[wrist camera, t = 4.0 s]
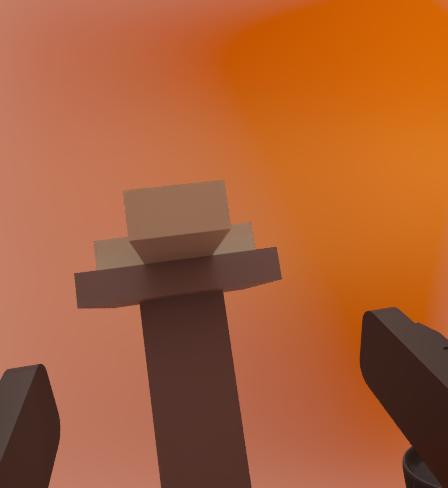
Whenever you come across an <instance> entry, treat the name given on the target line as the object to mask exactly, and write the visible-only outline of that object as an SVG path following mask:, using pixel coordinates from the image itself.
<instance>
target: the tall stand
mask: <svg viewBox="0 0 448 488" xmlns="http://www.w3.org/2000/svg"><path fill="white" fill-rule="evenodd" d="M74 276H75V286H76V296H77V307H78V308H118V307H124V306H131V305H138V304H140V311H141V319H142V328H143V336H144V344H145V353H146V362H147V370H148V379H149V388H150V396H151V405H152V413H153V422H154V430H155V439H156V446H157V456H158V465H159V473H160V482H161V488H251V481H250V475H249V468H248V461H247V454H246V447H245V440H244V433H243V427H242V420H241V413H240V406H239V400H238V392H237V385H236V378H235V371H234V364H233V357H232V351H231V343H230V337H229V330H228V323H227V316H226V309H225V302H224V295H223V292H228V291H235V290H242V289H246V288H250V287H254V286H258V285H262V284H265V283H269V282H273V281H277V280H281V279H282V277H281V272H280V265H279V259H278V253H277V248H276V247H271V248H264V249H256V250H249V251H241V252H234V253H226V254H218V255H211V256H203V257H196V258H188V259H180V260H173V261H165V262H158V263H150V264H142V265H135V266H127V267H120V268H112V269H104V270H97V271H90V272H83V273H75V274H74Z"/></svg>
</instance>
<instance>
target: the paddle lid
mask: <svg viewBox="0 0 448 488" xmlns="http://www.w3.org/2000/svg"><path fill="white" fill-rule="evenodd" d="M123 196H124V204H125V213H126V221H127V230H128V237H124V238H117V239H108V240H100V241H94V248H95V258H96V268H97V270H104V269H112V268H120V267H127V266H135V265H142V264H150V263H158V262H165V261H173V260H180V259H188V258H196V257H203V256H211V255H218V254H226V253H234V252H241V251H249V250H255V243H254V237H253V231H252V224H251V222H247V223H239V224H231V223H230V216H229V209H228V202H227V196H226V189H225V183H224V180H219V181H209V182H200V183H190V184H181V185H171V186H163V187H153V188H143V189H135V190H125V191H123Z"/></svg>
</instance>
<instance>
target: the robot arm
mask: <svg viewBox="0 0 448 488" xmlns="http://www.w3.org/2000/svg"><path fill="white" fill-rule="evenodd" d="M360 368H361V372H362V375H363V378H364V380H365V382H366V384H367V385H368V387H369V388H370V389H371V391H372V392H373V393H374V395H375V396H376V397H377V399H378V400H379V401H380V403H381V404H382V406H383V407H384V408H385V410H386V411H387V412H388V414H389V415H390V416H391V418H392V419H393V420H394V422H395V423H396V425H397V426H398V427H399V428H400V430H401V431H402V433H403V434H404V435H405V437H406V438H407V440H408V441H409V442H410V444H411V445H412V446H413V448H414V449H415V450H416V452H417V453H418V454H419V456H420V457H421V459H422V460H423V461H424V463H425V464H426V465H427V467H428V468H429V469H430V471H431V472H432V473H433V475H434V476H435V478H436V479H437V480H438V482H439V483H440V484H441V486H442V487H443V488H448V340H447V339H446V338H445V337H444V336H443V335H441V334H440V333H439V332H437V331H435V330H433V329H431V328H429V327H427V326H425V325H422V324H420V323H414V322H413V321H411V320H410V319H409V318H408V317H407V316H406V315H405V314H403V313H402V312H401V311H400V310H399V309H398V308H396V307H390V308H385V309H378V310H371V311H367V312H365V313H364V315H363V320H362V335H361V349H360ZM59 439H60V419H59V413H58V410H57V406H56V403H55V399H54V396H53V392H52V389H51V385H50V381H49V378H48V374H47V371H46V368H45V367H44V365H43V364H37V365H31V366H25V367H19V368H12V369H7V370H6V371H5V372H4V374H3V376H2V378H1V380H0V488H48V486H49V482H50V477H51V474H52V469H53V465H54V461H55V457H56V453H57V449H58V445H59Z"/></svg>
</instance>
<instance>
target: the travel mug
mask: <svg viewBox="0 0 448 488" xmlns="http://www.w3.org/2000/svg"><path fill="white" fill-rule="evenodd" d="M403 472H404V478H405V483H406V488H443V487H442V486H441V484H440V483H439V482H438V480H437V479H436V478H435V476H434V475H433V473H432V472H431V471H430V469H429V468H428V467H427V465H426V464H425V463H424V461H423V460H422V459H421V457H420V456H419V454H418V453H417V452H416V450H415V449H414V448H413V446H412V447H410V448H409V449H408V450H407V451H406V452H405V454H404V456H403Z"/></svg>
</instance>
